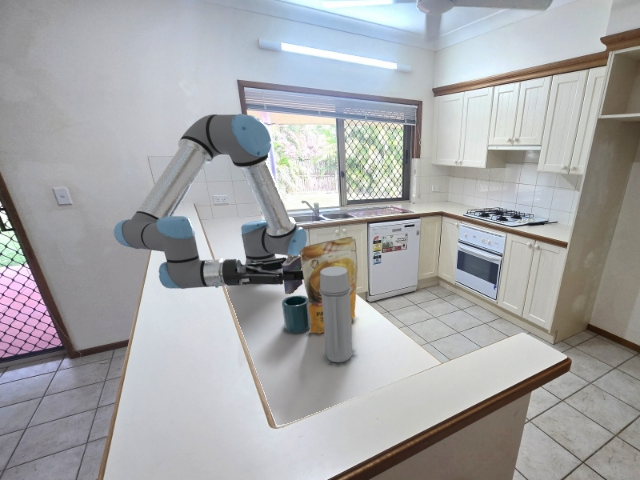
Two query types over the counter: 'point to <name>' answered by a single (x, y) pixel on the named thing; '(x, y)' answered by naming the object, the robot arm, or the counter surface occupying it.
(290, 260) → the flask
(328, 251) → the pancake mix bag
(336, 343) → the water bottle
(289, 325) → the coffee cup
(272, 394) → the counter surface
